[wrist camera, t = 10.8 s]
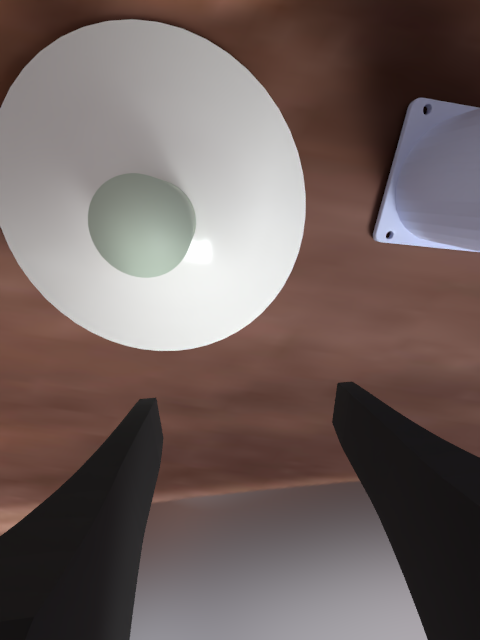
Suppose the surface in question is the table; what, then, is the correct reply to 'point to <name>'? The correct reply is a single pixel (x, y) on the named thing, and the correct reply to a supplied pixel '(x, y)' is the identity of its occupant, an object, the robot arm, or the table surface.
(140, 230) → the green cylinder
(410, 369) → the table surface
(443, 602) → the robot arm
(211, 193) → the white plate
